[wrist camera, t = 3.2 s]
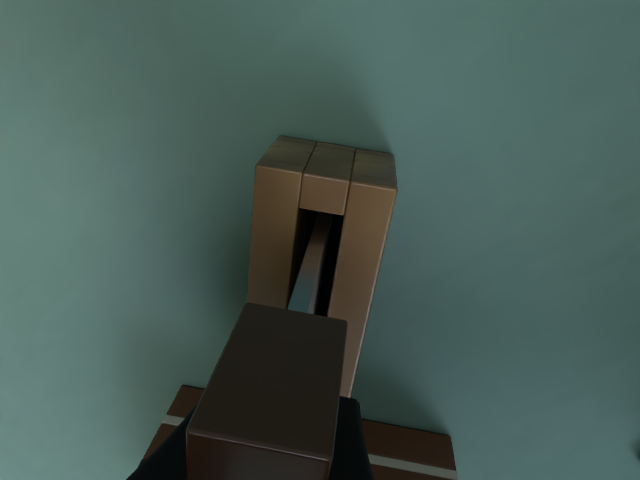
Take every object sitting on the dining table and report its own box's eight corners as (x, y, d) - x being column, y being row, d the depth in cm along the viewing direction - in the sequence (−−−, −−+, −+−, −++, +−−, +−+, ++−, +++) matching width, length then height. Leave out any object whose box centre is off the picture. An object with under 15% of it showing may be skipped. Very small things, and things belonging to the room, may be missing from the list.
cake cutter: (360, 206, 13) (333, 460, 6) (327, 381, 17) (282, 686, 9) (295, 195, 13) (183, 430, 6) (275, 371, 17) (188, 664, 9)
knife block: (394, 153, 14) (398, 188, 11) (344, 389, 18) (337, 453, 16) (279, 134, 14) (254, 164, 11) (258, 373, 18) (237, 433, 16)
